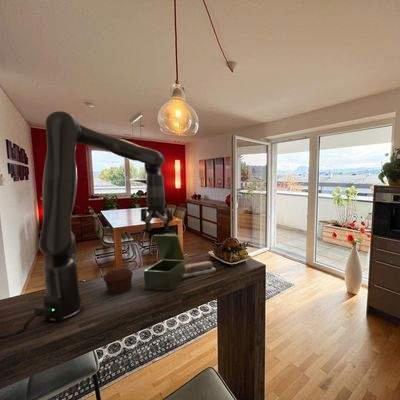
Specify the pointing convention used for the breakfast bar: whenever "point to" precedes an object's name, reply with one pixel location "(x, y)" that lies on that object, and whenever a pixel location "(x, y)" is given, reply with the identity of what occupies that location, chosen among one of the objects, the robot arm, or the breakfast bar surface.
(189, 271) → the packaged product
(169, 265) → the green box
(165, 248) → the lid
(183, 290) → the breakfast bar surface
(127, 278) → the muffin
